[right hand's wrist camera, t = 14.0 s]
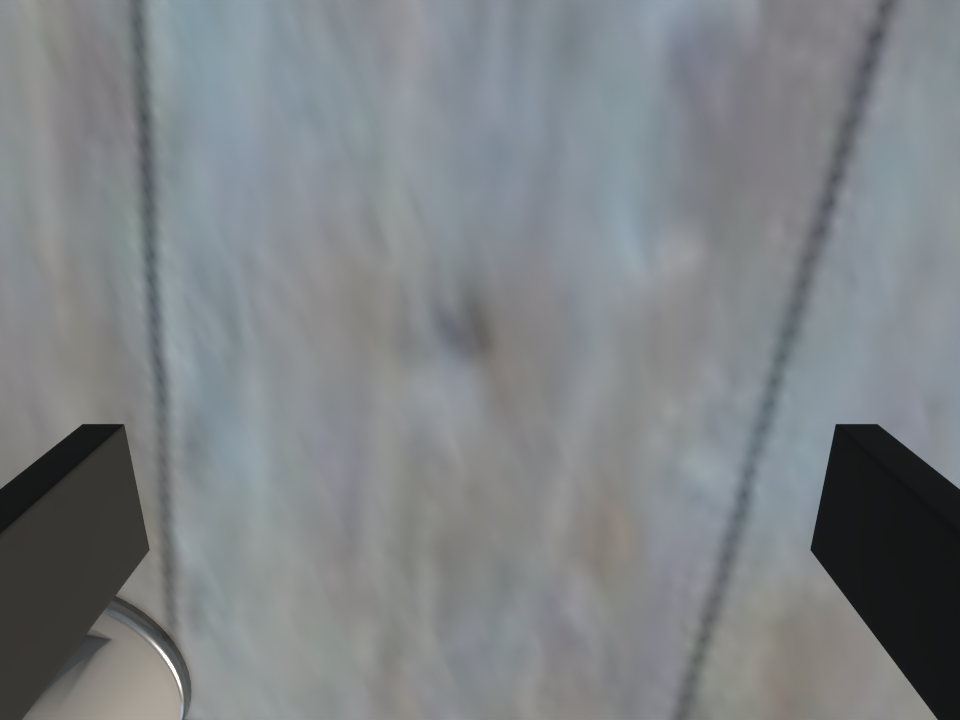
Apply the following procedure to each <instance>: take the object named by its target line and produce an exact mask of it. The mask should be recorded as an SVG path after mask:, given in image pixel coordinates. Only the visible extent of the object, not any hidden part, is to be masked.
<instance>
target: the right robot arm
mask: <svg viewBox="0 0 960 720" xmlns="http://www.w3.org/2000/svg"><path fill="white" fill-rule="evenodd" d="M148 551H149V545H148V540H147V535H146V530H145V525H144V520H143V515H142V510H141V505H140V500H139V495H138V490H137V485H136V481H135V476H134V471H133V466H132V461H131V456H130V451H129V446H128V441H127V436H126V431H125V426H124V424H82V425H81V426H80V427H78V428H77V429H76V430H75V431H73V432H72V433H71V434H70V435H68V436H67V437H66V438H65V439H63V440H62V441H61V442H60V443H58V444H57V445H56V446H55V447H53V448H52V449H51V450H49V451H48V452H47V453H46V454H44V455H43V456H42V457H41V458H39V459H38V460H37V461H36V462H34V463H33V464H32V465H31V466H29V467H28V468H27V469H25V470H24V471H23V472H22V473H20V474H19V475H18V476H17V477H15V478H14V479H13V480H12V481H10V482H9V483H8V484H7V485H5V486H4V487H3V488H1V489H0V720H185V718H186V715H187V713H188V710H189V706H190V700H191V683H190V677H189V673H188V670H187V667H186V664H185V661H184V659H183V657H182V655H181V653H180V652H179V650H178V648H177V647H176V645H175V644H174V642H173V641H172V640H171V638H170V637H169V636H168V635H167V634H166V632H165V631H164V630H163V629H162V628H161V627H160V626H159V625H158V624H157V623H156V622H155V621H153V620H152V619H151V618H150V617H148V616H147V615H146V614H145V613H143V612H142V611H140V610H139V609H137V608H136V607H134V606H133V605H131V604H129V603H128V602H126V601H124V600H122V599H120V598H118V597H116V596H115V595H116V594H117V593H118V591H119V590H120V589H121V587H122V586H123V585H124V583H125V582H126V581H127V579H128V578H129V577H130V575H131V574H132V573H133V571H134V570H135V569H136V567H137V566H138V565H139V563H140V562H141V561H142V559H143V558H144V557H145V555H146V554H147V553H148ZM811 551H812V553H813V554H814V555H815V557H816V558H817V559H818V561H819V562H820V563H821V565H822V566H823V567H824V569H825V570H826V571H827V573H828V574H829V575H830V577H831V578H832V579H833V581H834V582H835V583H836V585H837V586H838V587H839V589H840V590H841V591H842V593H843V594H844V595H845V597H846V598H847V599H848V601H849V602H850V603H851V605H852V606H853V607H854V609H855V610H856V611H857V613H858V614H859V615H860V617H861V618H862V619H863V621H864V622H865V623H866V625H867V626H868V627H869V629H870V630H871V631H872V633H873V634H874V635H875V637H876V638H877V639H878V641H879V642H880V643H881V645H882V646H883V647H884V649H885V650H886V651H887V653H888V654H889V655H890V657H891V658H892V659H893V661H894V662H895V663H896V665H897V666H898V667H899V669H900V670H901V671H902V673H903V674H904V675H905V677H906V678H907V679H908V681H909V682H910V683H911V685H912V686H913V687H914V689H915V690H916V691H917V693H918V694H919V695H920V697H921V698H922V699H923V701H924V702H925V703H926V705H927V706H928V707H929V709H930V710H931V711H932V712H933V714H934V715H935V716H936V718H937V719H938V720H960V489H959V488H957V487H956V486H955V485H953V484H952V483H951V482H950V481H948V480H947V479H946V478H945V477H943V476H942V475H941V474H940V473H938V472H937V471H936V470H935V469H933V468H932V467H931V466H929V465H928V464H927V463H926V462H924V461H923V460H922V459H921V458H919V457H918V456H917V455H916V454H914V453H913V452H912V451H911V450H909V449H908V448H907V447H905V446H904V445H903V444H902V443H900V442H899V441H898V440H897V439H895V438H894V437H893V436H892V435H890V434H889V433H888V432H887V431H885V430H884V429H883V428H882V427H880V426H879V425H878V424H836V426H835V431H834V436H833V441H832V446H831V451H830V456H829V461H828V466H827V471H826V476H825V481H824V485H823V490H822V495H821V500H820V505H819V510H818V515H817V520H816V525H815V530H814V535H813V540H812V545H811Z"/></svg>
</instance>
